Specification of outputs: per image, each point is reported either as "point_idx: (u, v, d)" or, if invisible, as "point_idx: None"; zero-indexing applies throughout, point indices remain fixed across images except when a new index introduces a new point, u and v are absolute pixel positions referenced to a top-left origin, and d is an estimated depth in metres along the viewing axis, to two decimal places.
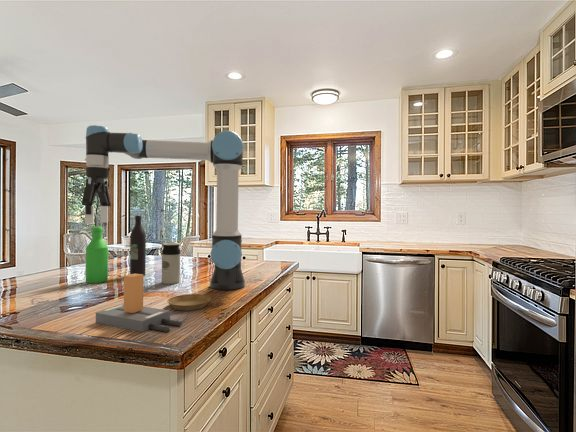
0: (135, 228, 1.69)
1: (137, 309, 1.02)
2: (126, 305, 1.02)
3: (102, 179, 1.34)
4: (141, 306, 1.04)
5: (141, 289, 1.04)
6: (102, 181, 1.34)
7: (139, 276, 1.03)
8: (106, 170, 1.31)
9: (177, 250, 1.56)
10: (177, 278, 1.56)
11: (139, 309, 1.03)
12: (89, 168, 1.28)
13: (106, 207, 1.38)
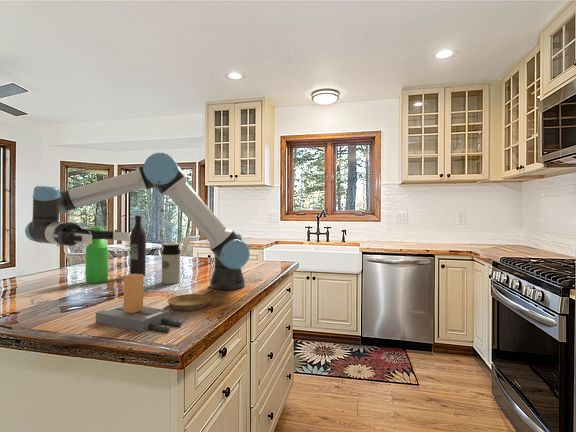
0: (135, 228, 1.69)
1: (137, 309, 1.02)
2: (126, 305, 1.02)
3: (79, 231, 1.15)
4: (141, 306, 1.04)
5: (141, 289, 1.04)
6: None
7: (139, 276, 1.03)
8: (64, 223, 1.14)
9: (177, 250, 1.56)
10: (177, 278, 1.56)
11: (139, 309, 1.03)
12: None
13: (114, 232, 1.15)
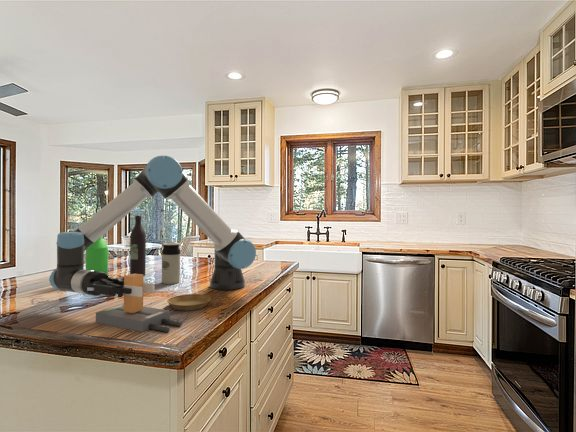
0: (135, 228, 1.69)
1: (137, 309, 1.02)
2: (126, 305, 1.02)
3: (106, 279, 1.10)
4: (141, 306, 1.04)
5: None
6: None
7: (139, 276, 1.03)
8: (91, 272, 1.09)
9: (177, 250, 1.56)
10: (177, 278, 1.56)
11: (139, 309, 1.03)
12: (83, 289, 1.06)
13: None
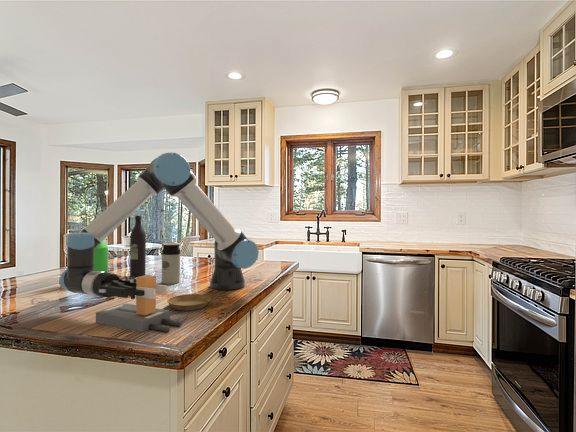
0: (135, 228, 1.69)
1: (150, 311, 1.01)
2: (138, 307, 1.00)
3: (118, 280, 1.08)
4: (154, 308, 1.02)
5: None
6: None
7: (152, 278, 1.01)
8: (102, 273, 1.07)
9: (177, 250, 1.56)
10: (177, 278, 1.56)
11: (152, 311, 1.01)
12: (94, 291, 1.05)
13: None
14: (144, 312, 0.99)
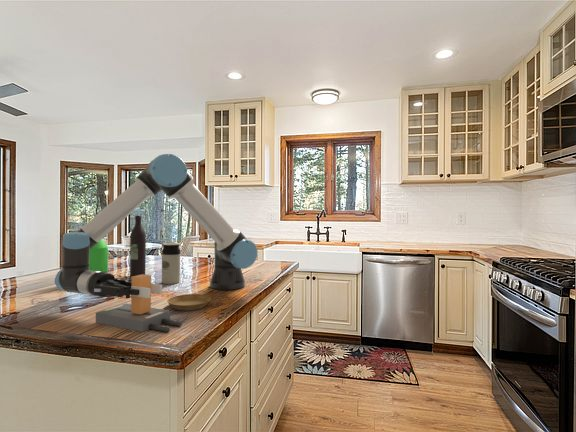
0: (135, 228, 1.69)
1: (145, 310, 1.01)
2: (134, 306, 1.00)
3: (113, 280, 1.09)
4: (149, 307, 1.03)
5: None
6: None
7: (147, 277, 1.02)
8: (97, 272, 1.07)
9: (177, 250, 1.56)
10: (177, 278, 1.56)
11: (147, 310, 1.02)
12: (89, 290, 1.05)
13: None
14: (139, 311, 1.00)
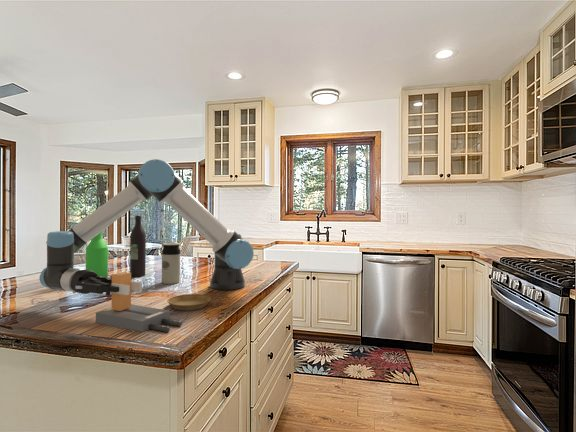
0: (135, 228, 1.69)
1: (125, 307, 1.04)
2: (114, 303, 1.03)
3: (95, 277, 1.12)
4: (129, 304, 1.06)
5: None
6: None
7: (127, 275, 1.05)
8: (80, 270, 1.10)
9: (177, 250, 1.56)
10: (177, 278, 1.56)
11: (127, 307, 1.05)
12: (72, 287, 1.08)
13: None
14: (119, 308, 1.03)
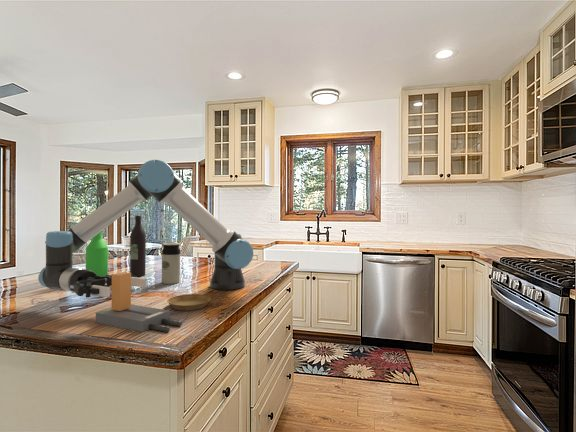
0: (135, 228, 1.69)
1: (125, 307, 1.04)
2: (114, 303, 1.03)
3: (94, 277, 1.12)
4: (129, 304, 1.06)
5: (129, 287, 1.05)
6: None
7: (127, 275, 1.05)
8: (79, 270, 1.11)
9: (177, 250, 1.56)
10: (177, 278, 1.56)
11: (127, 307, 1.05)
12: None
13: None
14: (119, 308, 1.03)
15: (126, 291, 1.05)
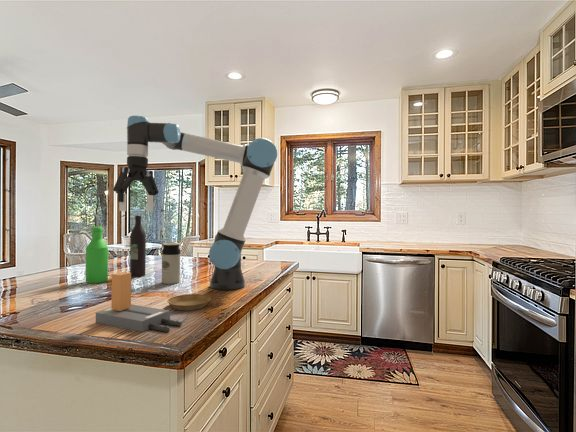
0: (135, 228, 1.69)
1: (125, 307, 1.04)
2: (114, 303, 1.03)
3: (143, 168, 1.36)
4: (129, 304, 1.06)
5: (129, 287, 1.05)
6: (144, 171, 1.37)
7: (127, 275, 1.05)
8: (142, 159, 1.33)
9: (177, 250, 1.56)
10: (177, 278, 1.56)
11: (127, 307, 1.05)
12: (127, 157, 1.32)
13: (151, 196, 1.41)
14: (119, 308, 1.03)
15: (126, 291, 1.05)
